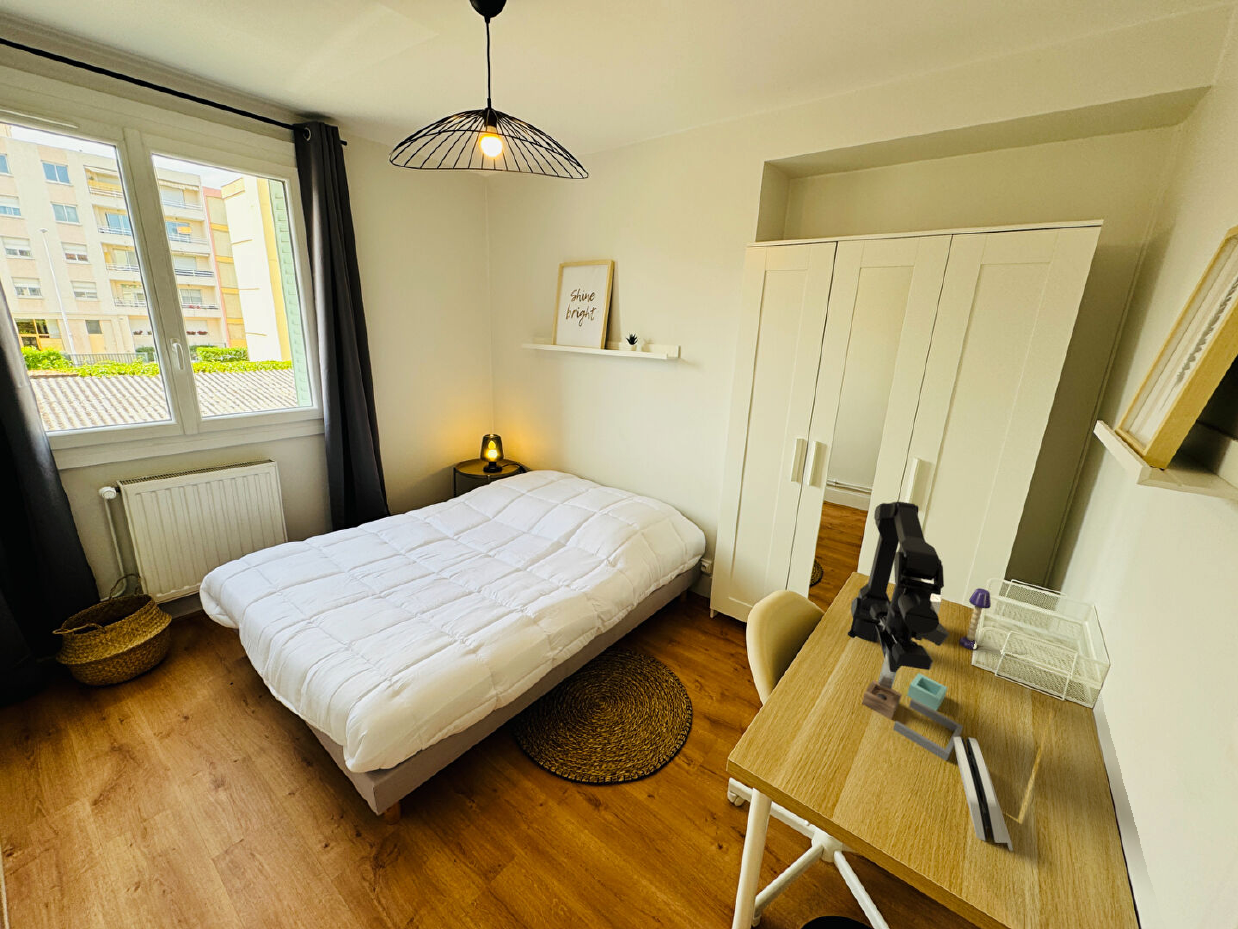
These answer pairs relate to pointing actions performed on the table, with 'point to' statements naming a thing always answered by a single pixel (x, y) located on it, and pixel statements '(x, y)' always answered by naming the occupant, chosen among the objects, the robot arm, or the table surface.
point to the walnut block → (881, 699)
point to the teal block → (927, 691)
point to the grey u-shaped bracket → (924, 741)
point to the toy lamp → (976, 615)
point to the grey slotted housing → (989, 809)
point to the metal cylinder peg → (886, 675)
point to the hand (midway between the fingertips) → (890, 666)
